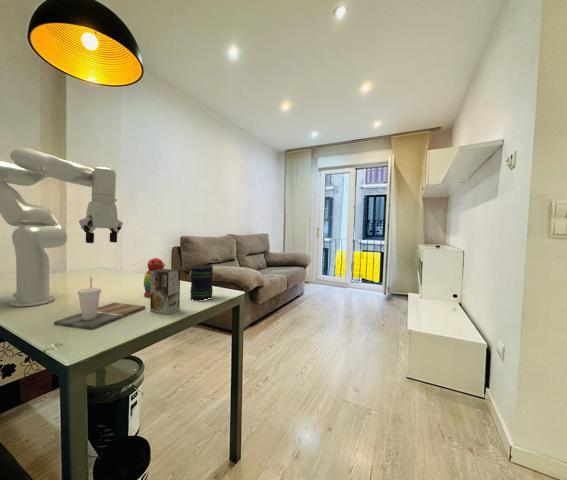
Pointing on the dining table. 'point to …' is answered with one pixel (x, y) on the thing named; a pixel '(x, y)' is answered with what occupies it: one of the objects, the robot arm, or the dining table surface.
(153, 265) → the stacking bear
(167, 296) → the coffee box
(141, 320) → the dining table surface
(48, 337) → the dining table surface
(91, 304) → the smoothie
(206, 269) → the storage jar
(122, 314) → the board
